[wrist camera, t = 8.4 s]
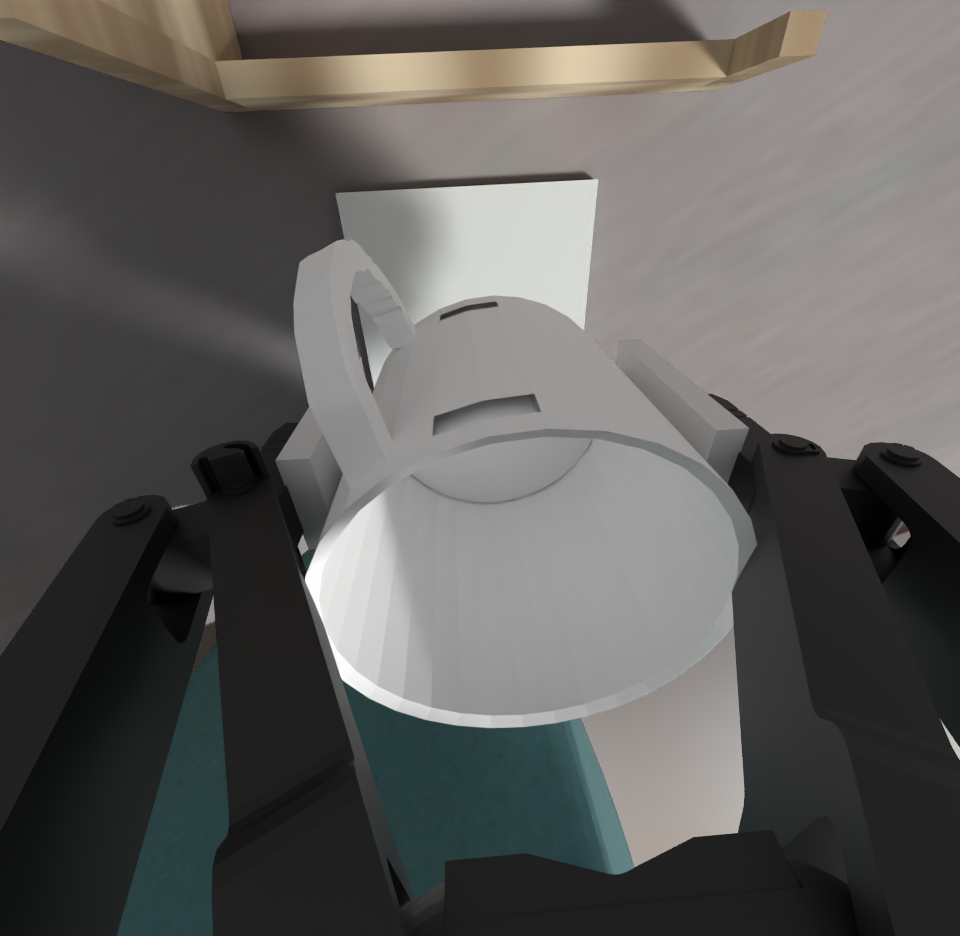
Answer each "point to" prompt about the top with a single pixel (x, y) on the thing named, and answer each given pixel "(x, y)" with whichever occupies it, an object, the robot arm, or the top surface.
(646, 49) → the frame
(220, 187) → the top surface
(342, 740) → the robot arm
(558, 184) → the felt mat
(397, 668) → the mug
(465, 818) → the flower pot
